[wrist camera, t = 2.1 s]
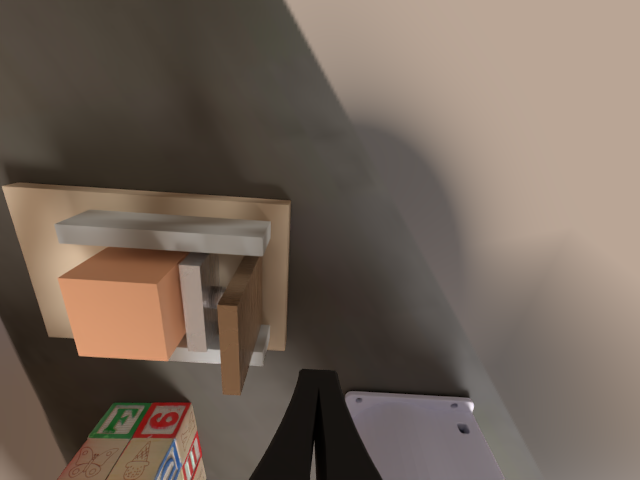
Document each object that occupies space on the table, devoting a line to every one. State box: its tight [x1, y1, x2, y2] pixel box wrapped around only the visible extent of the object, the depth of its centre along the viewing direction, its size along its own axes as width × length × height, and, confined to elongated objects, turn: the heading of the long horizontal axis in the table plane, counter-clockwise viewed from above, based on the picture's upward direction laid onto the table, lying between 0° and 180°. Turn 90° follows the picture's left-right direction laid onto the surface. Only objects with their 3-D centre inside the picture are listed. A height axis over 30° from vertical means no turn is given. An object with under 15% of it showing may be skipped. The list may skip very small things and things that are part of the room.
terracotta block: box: [58, 247, 190, 361], centre depth 17 cm, size 4×4×4 cm
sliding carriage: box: [179, 252, 262, 395], centre depth 16 cm, size 4×5×6 cm
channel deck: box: [2, 182, 291, 366], centre depth 18 cm, size 16×10×4 cm, turn 86°
